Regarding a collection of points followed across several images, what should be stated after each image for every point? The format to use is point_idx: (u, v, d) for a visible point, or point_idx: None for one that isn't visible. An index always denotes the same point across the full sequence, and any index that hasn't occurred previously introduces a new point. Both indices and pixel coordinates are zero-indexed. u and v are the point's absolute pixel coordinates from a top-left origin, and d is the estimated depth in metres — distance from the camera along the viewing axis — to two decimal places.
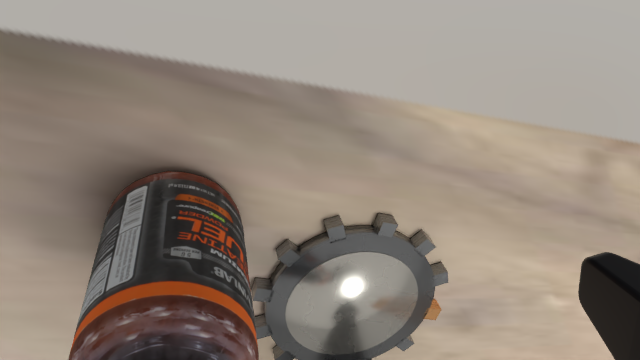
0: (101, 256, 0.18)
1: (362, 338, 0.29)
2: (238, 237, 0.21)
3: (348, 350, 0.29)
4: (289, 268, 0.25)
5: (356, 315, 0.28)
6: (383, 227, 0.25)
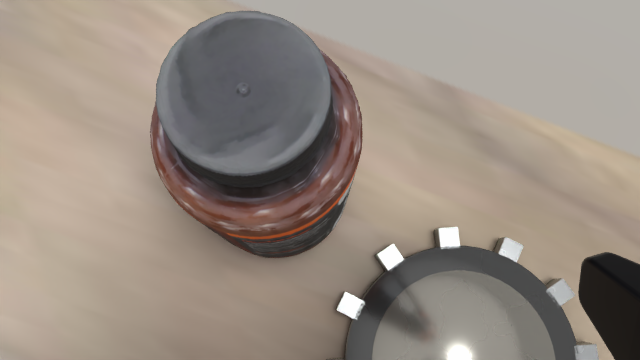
0: None
1: None
2: None
3: None
4: (388, 272, 0.21)
5: None
6: (505, 244, 0.21)
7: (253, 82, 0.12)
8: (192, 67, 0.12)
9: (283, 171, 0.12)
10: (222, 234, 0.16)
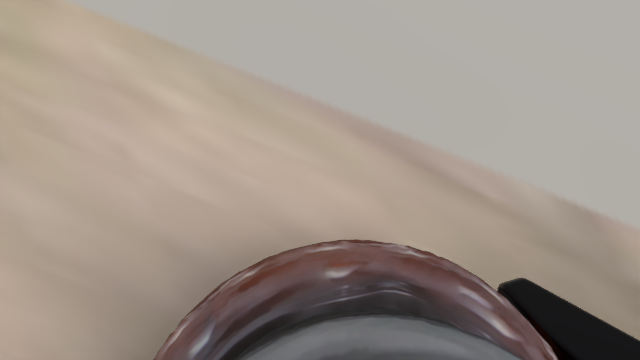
0: None
1: None
2: None
3: None
4: None
5: None
6: None
7: None
8: None
9: None
10: None
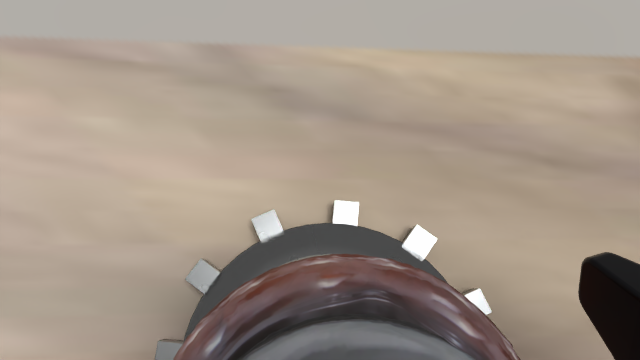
0: None
1: None
2: None
3: None
4: (205, 296, 0.16)
5: None
6: (337, 208, 0.17)
7: None
8: None
9: None
10: None
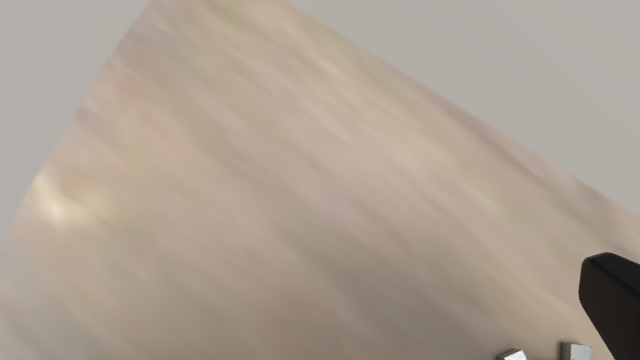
0: None
1: None
2: None
3: None
4: None
5: None
6: None
7: None
8: None
9: None
10: None
